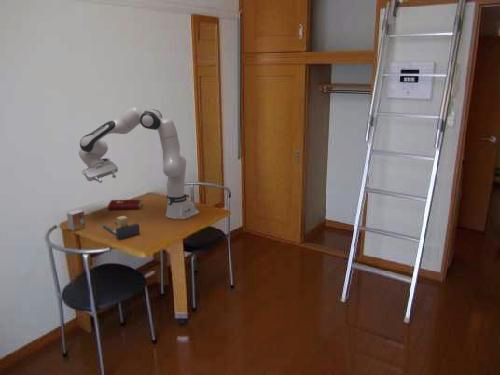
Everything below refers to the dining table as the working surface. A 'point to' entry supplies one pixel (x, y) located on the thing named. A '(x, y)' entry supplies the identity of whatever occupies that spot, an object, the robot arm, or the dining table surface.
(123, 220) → the tall tan pillar block
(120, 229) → the pallet fork attachment
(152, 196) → the dining table surface
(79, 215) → the small box
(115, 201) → the hardcover book
